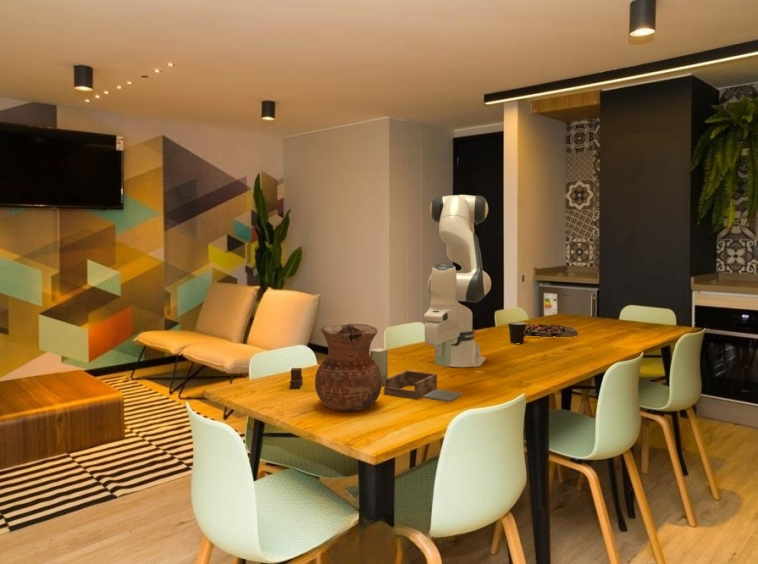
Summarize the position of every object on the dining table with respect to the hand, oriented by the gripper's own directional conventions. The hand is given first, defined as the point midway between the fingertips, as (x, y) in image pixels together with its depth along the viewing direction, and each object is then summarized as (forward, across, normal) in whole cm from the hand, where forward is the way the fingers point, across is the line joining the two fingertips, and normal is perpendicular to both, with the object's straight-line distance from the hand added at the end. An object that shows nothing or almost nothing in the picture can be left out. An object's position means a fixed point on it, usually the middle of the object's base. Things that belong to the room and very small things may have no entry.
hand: (443, 354), depth 194 cm
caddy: (+14, 0, -12) cm, 19 cm away
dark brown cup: (+14, -105, -9) cm, 106 cm away
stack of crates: (+15, +14, -49) cm, 53 cm away
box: (+14, -2, -26) cm, 30 cm away
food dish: (+14, -140, -4) cm, 141 cm away
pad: (+14, 0, 0) cm, 14 cm away
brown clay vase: (+14, +25, -21) cm, 36 cm away
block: (+3, 0, 0) cm, 3 cm away
